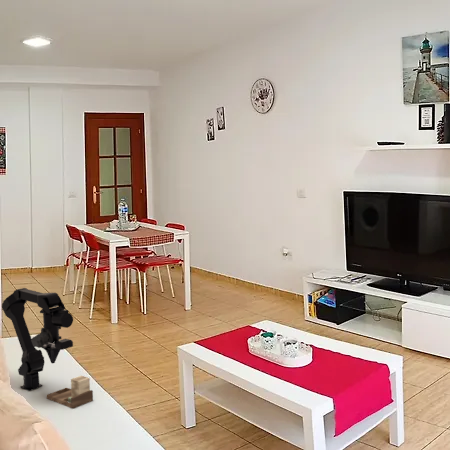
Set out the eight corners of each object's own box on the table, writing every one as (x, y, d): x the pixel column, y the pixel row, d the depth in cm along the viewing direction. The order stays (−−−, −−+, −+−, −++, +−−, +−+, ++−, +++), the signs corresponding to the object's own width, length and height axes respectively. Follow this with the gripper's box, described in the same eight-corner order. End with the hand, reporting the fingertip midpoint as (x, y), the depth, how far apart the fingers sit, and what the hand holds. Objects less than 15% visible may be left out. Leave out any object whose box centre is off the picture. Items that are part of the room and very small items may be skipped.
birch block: (71, 397, 226) (71, 379, 225) (81, 393, 230) (81, 375, 229) (79, 400, 223) (79, 381, 222) (90, 396, 227) (89, 378, 226)
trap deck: (46, 398, 229) (46, 388, 229) (66, 391, 237) (66, 381, 236) (73, 408, 219) (72, 398, 219) (92, 400, 227) (92, 390, 226)
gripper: (19, 326, 229) (21, 365, 230) (50, 331, 219) (52, 372, 220) (42, 320, 238) (44, 358, 239) (73, 325, 228) (74, 364, 229)
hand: (53, 363), depth 231 cm, fingers closed
